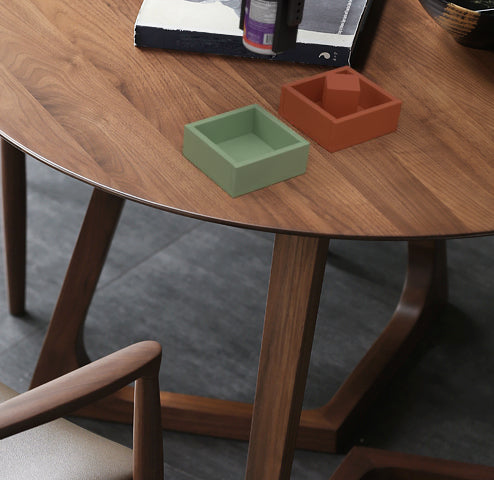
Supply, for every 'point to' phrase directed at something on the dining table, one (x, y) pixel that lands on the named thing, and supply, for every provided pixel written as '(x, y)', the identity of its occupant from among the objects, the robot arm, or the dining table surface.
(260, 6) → the pill bottle
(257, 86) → the dining table surface
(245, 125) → the sage bin
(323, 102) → the red block
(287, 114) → the terracotta bin
